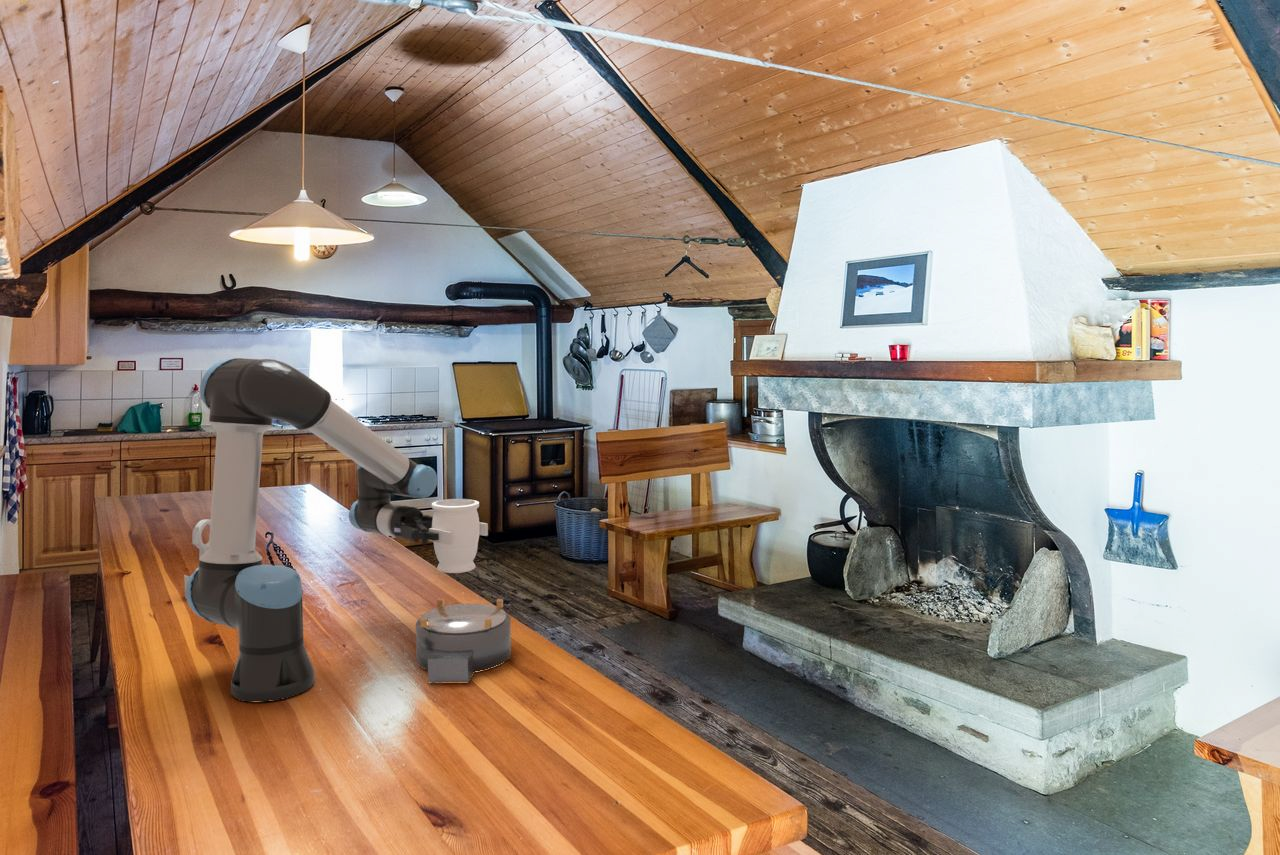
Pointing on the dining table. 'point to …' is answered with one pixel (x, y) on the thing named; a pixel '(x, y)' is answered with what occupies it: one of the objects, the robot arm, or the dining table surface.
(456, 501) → the jar
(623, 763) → the dining table surface
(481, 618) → the cylinder
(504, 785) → the dining table surface
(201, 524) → the engine component
